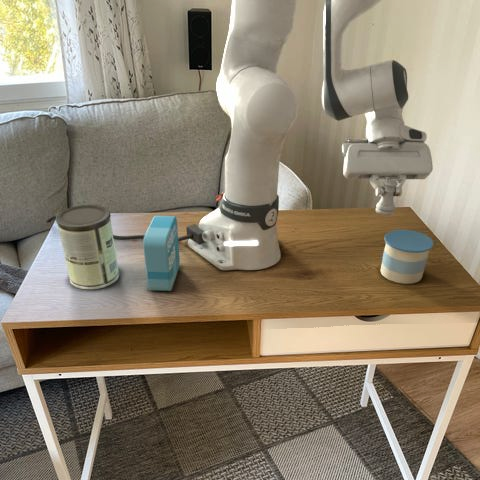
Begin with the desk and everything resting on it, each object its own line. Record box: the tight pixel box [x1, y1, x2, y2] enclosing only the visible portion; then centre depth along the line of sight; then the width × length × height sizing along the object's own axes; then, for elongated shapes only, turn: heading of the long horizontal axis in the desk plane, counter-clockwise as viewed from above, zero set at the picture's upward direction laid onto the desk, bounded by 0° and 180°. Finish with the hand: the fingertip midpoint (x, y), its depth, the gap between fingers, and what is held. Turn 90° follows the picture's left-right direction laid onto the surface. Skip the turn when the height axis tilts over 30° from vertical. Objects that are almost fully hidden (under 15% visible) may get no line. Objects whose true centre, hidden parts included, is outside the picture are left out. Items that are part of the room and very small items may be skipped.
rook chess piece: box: [374, 177, 398, 216], centre depth 116 cm, size 4×4×8 cm
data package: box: [142, 215, 181, 292], centre depth 102 cm, size 12×4×12 cm, turn 176°
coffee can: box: [55, 204, 120, 291], centre depth 101 cm, size 10×10×14 cm
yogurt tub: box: [380, 229, 434, 285], centre depth 106 cm, size 10×10×8 cm
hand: (388, 195), depth 115 cm, fingers closed on rook chess piece, 3 cm apart
